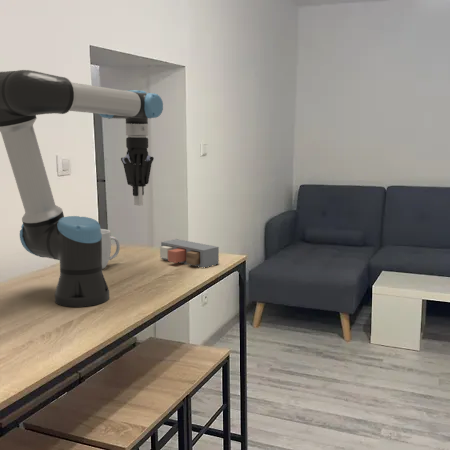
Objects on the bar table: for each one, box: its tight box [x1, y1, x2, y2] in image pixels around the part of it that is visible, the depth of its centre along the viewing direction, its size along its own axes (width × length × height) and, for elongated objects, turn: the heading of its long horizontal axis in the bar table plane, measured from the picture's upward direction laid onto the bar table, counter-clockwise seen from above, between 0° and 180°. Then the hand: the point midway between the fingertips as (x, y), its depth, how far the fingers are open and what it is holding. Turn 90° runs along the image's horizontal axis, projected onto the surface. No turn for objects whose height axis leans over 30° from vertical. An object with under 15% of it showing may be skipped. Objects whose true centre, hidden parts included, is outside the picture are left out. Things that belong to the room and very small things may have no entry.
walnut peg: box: [186, 251, 200, 265], centre depth 200 cm, size 9×4×4 cm, turn 139°
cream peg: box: [159, 245, 173, 259], centre depth 209 cm, size 9×4×4 cm, turn 139°
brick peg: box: [167, 248, 186, 264], centre depth 203 cm, size 9×4×4 cm, turn 139°
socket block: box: [160, 238, 220, 269], centre depth 206 cm, size 8×22×6 cm, turn 49°
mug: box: [101, 228, 121, 270], centre depth 196 cm, size 15×11×13 cm
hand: (138, 205), depth 194 cm, fingers closed
